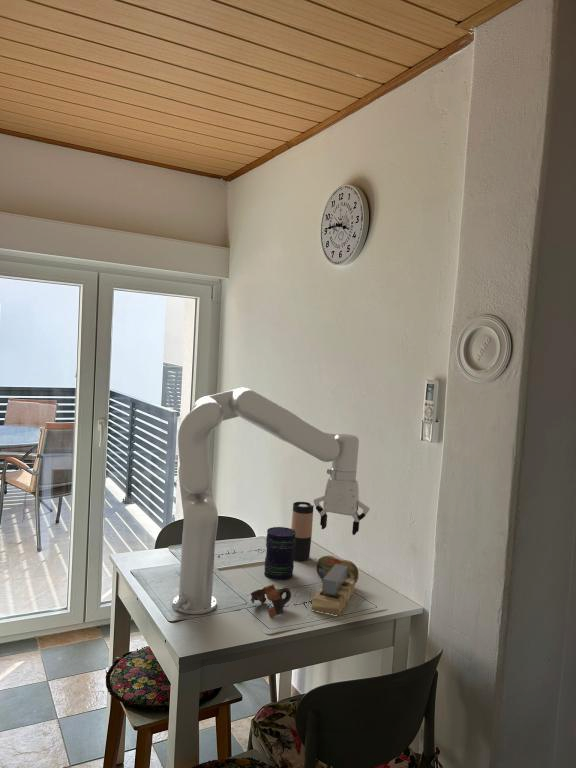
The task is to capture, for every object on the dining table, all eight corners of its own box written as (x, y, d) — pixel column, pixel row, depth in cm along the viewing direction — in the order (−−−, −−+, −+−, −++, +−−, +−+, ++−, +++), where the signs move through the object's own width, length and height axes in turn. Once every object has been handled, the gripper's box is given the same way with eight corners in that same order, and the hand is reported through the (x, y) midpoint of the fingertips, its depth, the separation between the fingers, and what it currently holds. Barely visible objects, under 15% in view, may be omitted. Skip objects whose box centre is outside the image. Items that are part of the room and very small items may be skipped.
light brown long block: (338, 617, 169) (339, 603, 169) (311, 611, 172) (312, 597, 171) (354, 592, 188) (355, 579, 187) (330, 587, 190) (331, 574, 190)
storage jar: (282, 583, 191) (285, 538, 190) (257, 575, 196) (260, 531, 195) (298, 574, 199) (301, 531, 198) (275, 567, 204) (277, 525, 204)
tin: (315, 578, 197) (316, 553, 197) (320, 575, 200) (321, 551, 199) (354, 591, 188) (356, 565, 188) (358, 588, 191) (360, 563, 191)
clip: (333, 611, 172) (336, 581, 172) (320, 608, 174) (323, 579, 173) (345, 594, 186) (347, 566, 185) (333, 591, 187) (335, 563, 186)
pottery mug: (262, 622, 164) (252, 592, 166) (253, 622, 172) (244, 594, 174) (299, 606, 169) (290, 577, 171) (289, 607, 177) (280, 580, 179)
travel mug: (286, 559, 213) (290, 505, 211) (292, 553, 220) (296, 500, 219) (306, 563, 210) (310, 508, 209) (312, 556, 218) (316, 503, 217)
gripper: (312, 473, 177) (308, 529, 178) (369, 481, 171) (364, 539, 172) (319, 469, 184) (315, 523, 185) (374, 477, 178) (369, 532, 179)
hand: (338, 530), depth 178 cm, fingers open, 9 cm apart
